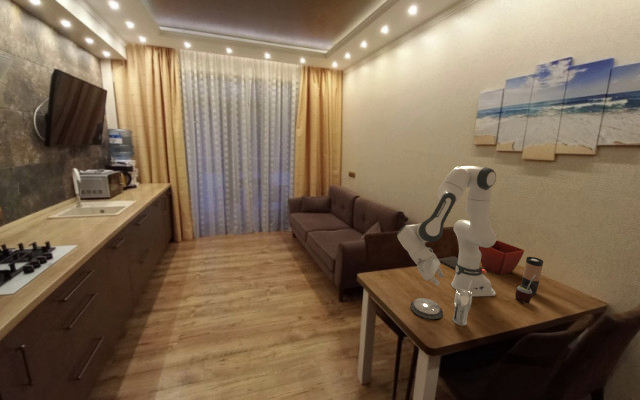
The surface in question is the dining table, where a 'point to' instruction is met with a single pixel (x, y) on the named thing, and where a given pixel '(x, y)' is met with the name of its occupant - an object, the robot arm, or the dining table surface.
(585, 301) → the dining table surface
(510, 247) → the plant pot
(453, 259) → the hardcover book
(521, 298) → the mate gourd
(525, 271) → the travel mug
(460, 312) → the beer glass
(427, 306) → the disc
